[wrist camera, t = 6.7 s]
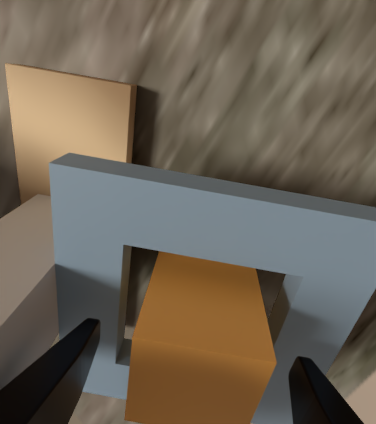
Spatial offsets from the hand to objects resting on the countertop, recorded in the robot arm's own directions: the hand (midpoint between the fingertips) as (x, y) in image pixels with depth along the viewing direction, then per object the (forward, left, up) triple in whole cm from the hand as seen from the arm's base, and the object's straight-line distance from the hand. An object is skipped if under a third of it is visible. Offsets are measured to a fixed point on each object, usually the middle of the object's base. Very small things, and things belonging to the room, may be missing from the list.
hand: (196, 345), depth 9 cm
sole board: (0, +7, -6) cm, 9 cm away
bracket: (0, +2, -5) cm, 6 cm away
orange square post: (0, 0, -6) cm, 6 cm away
